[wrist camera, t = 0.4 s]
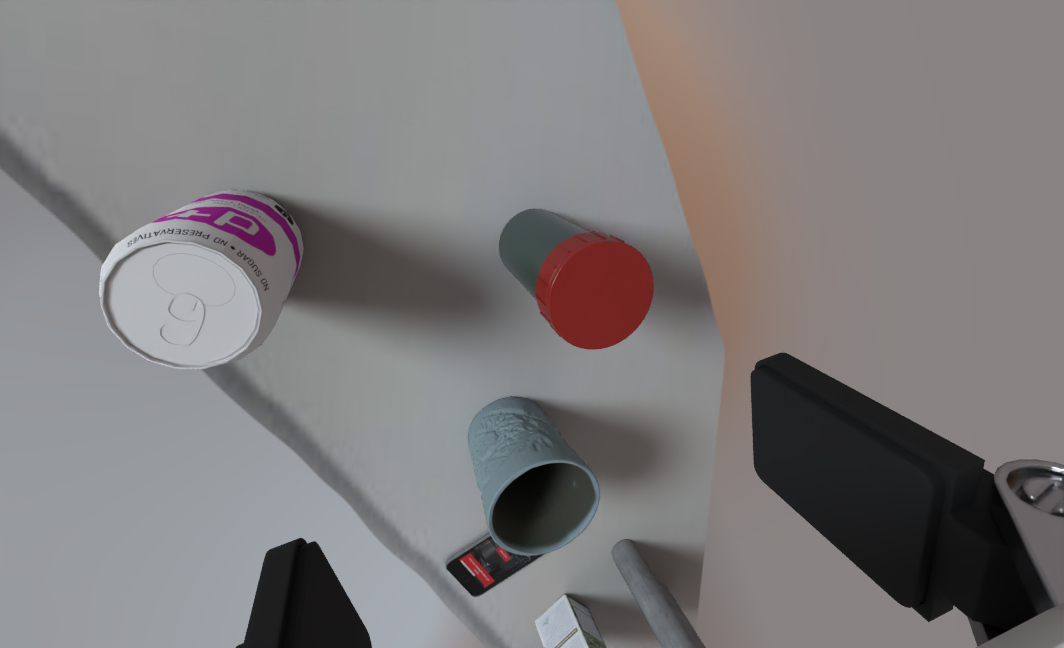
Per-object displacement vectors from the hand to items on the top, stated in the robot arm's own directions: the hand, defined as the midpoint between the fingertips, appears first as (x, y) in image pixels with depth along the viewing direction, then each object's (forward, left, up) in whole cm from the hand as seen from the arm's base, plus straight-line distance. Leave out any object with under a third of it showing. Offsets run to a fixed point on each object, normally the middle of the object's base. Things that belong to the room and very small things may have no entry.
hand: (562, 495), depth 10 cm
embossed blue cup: (+22, -11, -36) cm, 43 cm away
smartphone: (+33, -22, -35) cm, 53 cm away
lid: (+10, +5, -21) cm, 24 cm away
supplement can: (-8, -10, -36) cm, 38 cm away
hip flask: (+54, -18, -36) cm, 67 cm away
